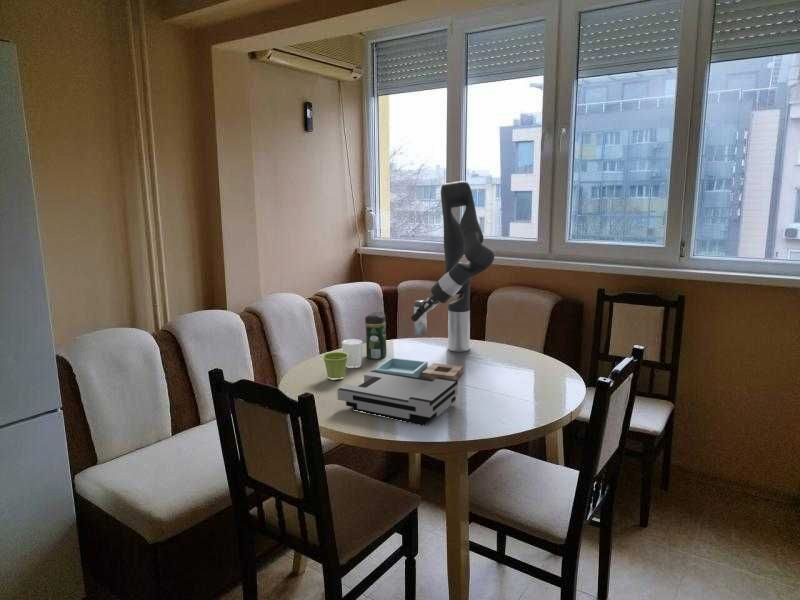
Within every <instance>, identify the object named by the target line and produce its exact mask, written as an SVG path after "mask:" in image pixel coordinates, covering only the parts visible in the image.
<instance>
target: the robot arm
mask: <svg viewBox="0 0 800 600" xmlns="http://www.w3.org/2000/svg"><path fill="white" fill-rule="evenodd" d="M473 196H474V195H473V193H472V189H471V185H470V184H469V182H468V181H467V180H466V181H465V180H460V181H453V182H447V183H443V184H442V186H441V188H440V200H441V209H442V220H443V251H444V252H443V253H444V275H442V276H441V277H440V278H439V280H437V282H436V283H434V284H433V286H432V287H430V292H431V295H430V296H428V297H427V298H426V300H425V302H424V303H423V304H422V305H421V306H420V307H419V309H417V312H416V313H415V314H414V313H413V315H412V316H411V318H410V319H411V321H412V322H416V321H417V320H418V319H419V318H420V317H421V316H423V314H424V313H425V312H427V313H429V311H431V310H433V309H434V308H435V307H437V306H438V305H439V304H440V303H442V304H446V303H448V302H449V301H450V300H451V299H452V298H453V297H454V296H455V295H462V296H461V297H459V299H456V300H454V301H453V300H452V301H451V302H449V303H448V306H447V308H448V309H447V310H448V311H447V315H448V319H447V322H448V323H447V333H448V334H447V337H448V339H447V344H448V345H447V347H448V350H449V351H452V352H467V351H469V350H470V348H471V347H470V346H471V344H470V343H471V342H470V339H471V337H470V336H471V335H470V334H471V330H470V329H471V306H470V305H471V302H470V301H471V299H470V298H471V287H472V286H471V284H472V283H471V282H472V281H471V279H472V278H474V277H475V276H477V275H479V274H481V273H483V272H484V271H485V270H487V269H488V268H490V266H491V265H492V264H493V263H494V260H495V253H494V251H493V250H492V249H490V248H489V247H487V246H485V245H484V244H483V242H484V233H483V231H482V228H481V226H480V224H479V220H478V215H477V211H476V206H475V201H474V197H473ZM464 206H465V209H464V210H465V211H464V212H463V214H462V217H461V219H460V222H459V221H458V220H457V219H456V217H455V215H454V214H453V212H452V208H458V207H464ZM463 257H465V259H466V260H467V261H468V262H464V261H460V260H461V259H462V258H463ZM421 310H422V311H423V312H422V311H421Z"/></svg>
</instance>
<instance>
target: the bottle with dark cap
mask: <svg viewBox="0 0 800 600" xmlns="http://www.w3.org/2000/svg"><path fill="white" fill-rule="evenodd" d="M425 301H426V300H425V299H418V300H413V315H414V314H415V313H416V312H417V309H419V307H420V306H421V305H422V304H423V303H424V302H425ZM421 311H422V310H421ZM422 312H423V311H422ZM427 316H428V312H425V313H424V314H423V316H421V317H420V318H419V319H418V320H417V321H416V322H414V321H413V322H414V335H415V336H417V335H418V336H425V335H427V334H428V329H427V328H428V326H427V325H428V324H427V323H428V321H427V320H428V318H427Z"/></svg>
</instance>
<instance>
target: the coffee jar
mask: <svg viewBox="0 0 800 600" xmlns="http://www.w3.org/2000/svg"><path fill="white" fill-rule="evenodd" d="M364 320H365V323H364V324H365V340H366V342H365V343H366V345H365V347H366V349H365V350H366V353H365V354H366V358H367V357H370V358H369V359H371V358H380V359H384V358H385V357H386V355H387V351H388V350H387V333H386V332H387V331H386V330H387V329H386V323H387V322H386V314H385V313H384V312H382V311H372V312H371V313H369V314H367V315H366V316H365V318H364ZM384 356H385V357H384Z"/></svg>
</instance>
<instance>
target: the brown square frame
mask: <svg viewBox="0 0 800 600" xmlns="http://www.w3.org/2000/svg"><path fill="white" fill-rule="evenodd" d="M463 374H464V366H463V365H455V364H454V365H453V364H443V363H435V362H433V363H431V364H430V365H429V366H428V368H427V369H426V370H424V371H423V372H422V377H421V378H423V379H429V380H435V379H436V378H438V377H439V378H446V379H452V380H458V379H459V378H460V377H461V376H462V375H463Z"/></svg>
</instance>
